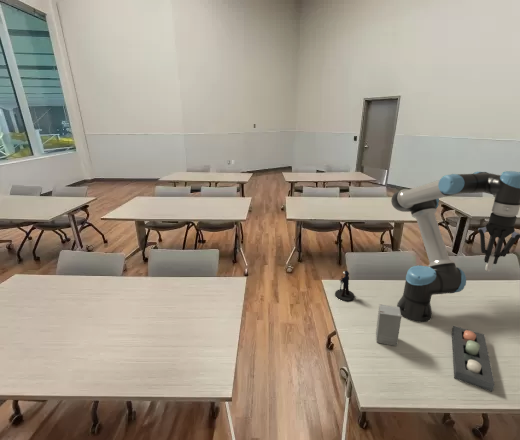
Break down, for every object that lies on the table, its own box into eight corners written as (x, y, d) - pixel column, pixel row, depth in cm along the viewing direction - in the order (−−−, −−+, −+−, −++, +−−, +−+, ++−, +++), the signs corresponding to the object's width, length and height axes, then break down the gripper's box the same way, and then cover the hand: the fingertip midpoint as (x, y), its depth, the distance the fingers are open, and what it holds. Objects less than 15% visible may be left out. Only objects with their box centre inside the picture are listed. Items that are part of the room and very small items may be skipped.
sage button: (465, 352, 110) (467, 345, 109) (464, 346, 114) (466, 339, 112) (478, 356, 108) (480, 349, 107) (476, 350, 112) (479, 342, 110)
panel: (454, 378, 103) (456, 371, 102) (451, 331, 126) (453, 325, 125) (492, 392, 98) (494, 384, 97) (482, 341, 121) (484, 334, 120)
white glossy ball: (466, 373, 104) (468, 365, 102) (465, 365, 107) (467, 357, 106) (479, 377, 102) (482, 370, 100) (478, 369, 105) (480, 362, 104)
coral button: (462, 341, 118) (464, 334, 117) (462, 335, 121) (464, 329, 120) (474, 345, 116) (476, 338, 115) (473, 339, 119) (475, 332, 118)
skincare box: (395, 336, 124) (400, 306, 118) (397, 348, 117) (403, 316, 112) (374, 332, 126) (379, 302, 121) (375, 343, 120) (380, 312, 115)
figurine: (345, 288, 159) (348, 265, 154) (358, 298, 150) (361, 273, 146) (331, 293, 155) (333, 268, 150) (343, 303, 147) (345, 277, 142)
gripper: (483, 213, 105) (468, 270, 113) (529, 219, 99) (510, 278, 107) (481, 208, 112) (467, 262, 119) (524, 213, 105) (507, 270, 113)
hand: (487, 270), depth 113 cm, fingers closed
